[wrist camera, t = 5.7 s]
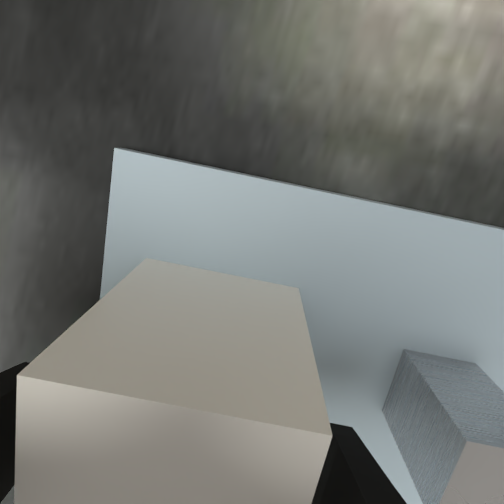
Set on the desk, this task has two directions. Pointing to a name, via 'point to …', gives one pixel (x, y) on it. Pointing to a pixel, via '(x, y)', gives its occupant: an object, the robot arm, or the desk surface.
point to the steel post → (448, 428)
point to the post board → (324, 274)
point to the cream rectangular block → (175, 397)
